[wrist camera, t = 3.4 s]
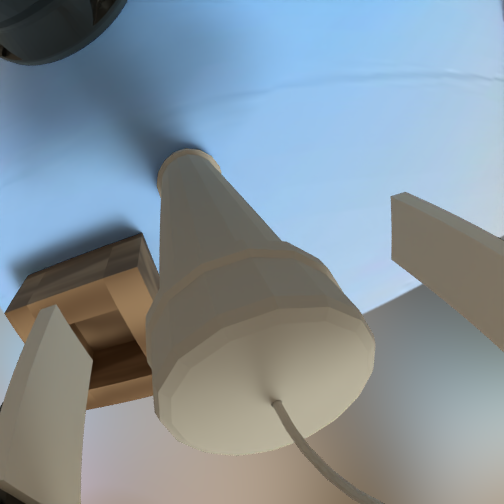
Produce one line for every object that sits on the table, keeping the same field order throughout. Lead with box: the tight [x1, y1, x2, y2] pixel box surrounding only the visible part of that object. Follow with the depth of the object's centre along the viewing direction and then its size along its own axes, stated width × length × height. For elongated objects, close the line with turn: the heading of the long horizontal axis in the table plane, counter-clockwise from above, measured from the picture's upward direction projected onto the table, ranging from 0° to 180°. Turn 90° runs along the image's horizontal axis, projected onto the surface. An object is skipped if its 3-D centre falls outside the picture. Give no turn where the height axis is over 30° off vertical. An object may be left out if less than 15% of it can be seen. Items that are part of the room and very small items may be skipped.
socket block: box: [4, 233, 160, 410], centre depth 28 cm, size 14×14×7 cm
